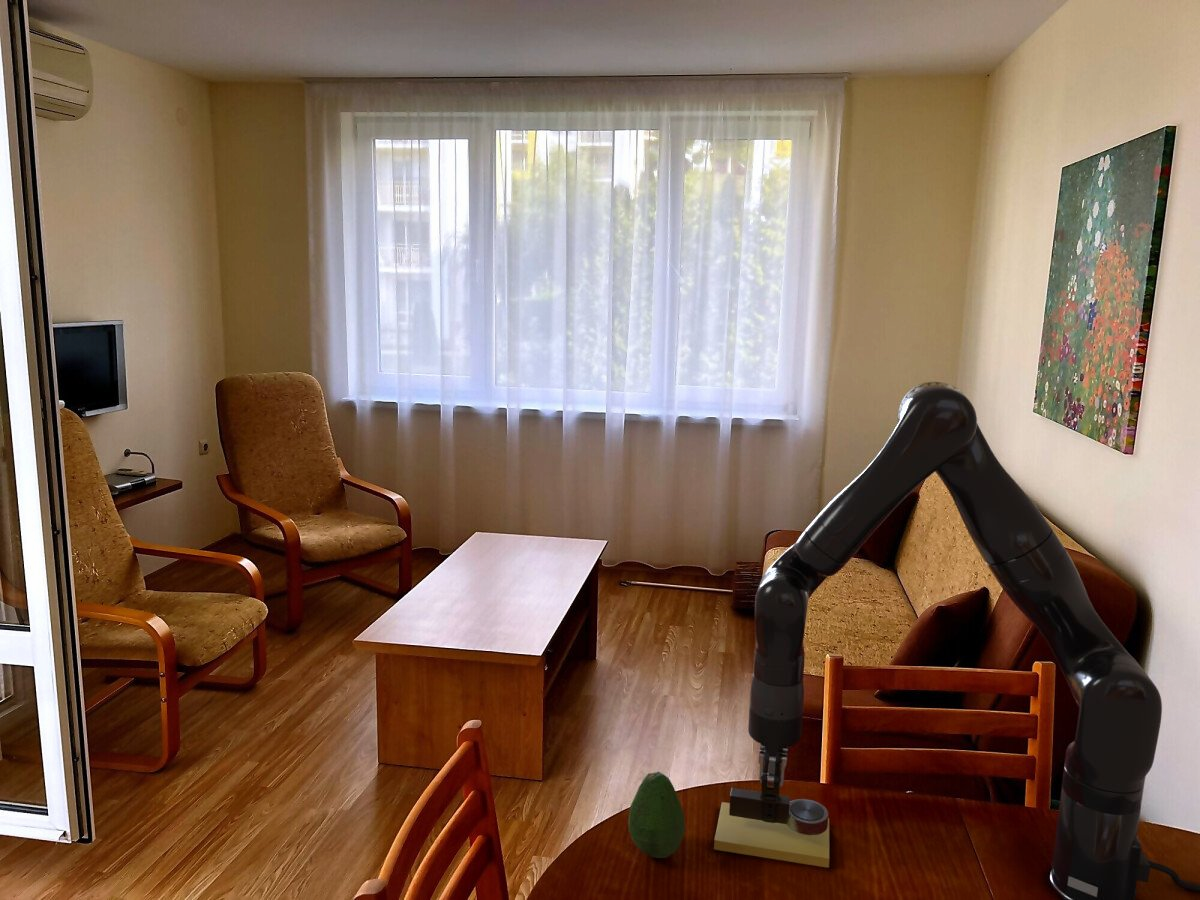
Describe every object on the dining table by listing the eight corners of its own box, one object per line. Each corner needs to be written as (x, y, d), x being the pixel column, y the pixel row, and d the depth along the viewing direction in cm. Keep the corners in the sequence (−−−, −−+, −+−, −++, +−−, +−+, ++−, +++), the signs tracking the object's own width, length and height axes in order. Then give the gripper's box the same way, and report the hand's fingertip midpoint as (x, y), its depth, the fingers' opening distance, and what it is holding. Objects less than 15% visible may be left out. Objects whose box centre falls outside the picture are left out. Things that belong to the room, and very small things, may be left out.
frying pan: (827, 814, 134) (828, 794, 133) (827, 838, 128) (829, 818, 127) (731, 800, 137) (732, 780, 136) (727, 823, 131) (728, 802, 130)
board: (828, 826, 136) (829, 817, 136) (828, 868, 126) (829, 858, 126) (721, 810, 140) (722, 801, 139) (714, 849, 130) (714, 840, 130)
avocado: (661, 830, 134) (663, 755, 132) (694, 858, 128) (697, 781, 126) (616, 847, 130) (618, 771, 128) (648, 878, 124) (650, 798, 121)
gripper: (801, 732, 122) (794, 848, 125) (804, 687, 135) (797, 793, 138) (745, 724, 123) (739, 839, 127) (753, 681, 137) (747, 786, 140)
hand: (769, 814), depth 132 cm, fingers closed on frying pan, 2 cm apart
